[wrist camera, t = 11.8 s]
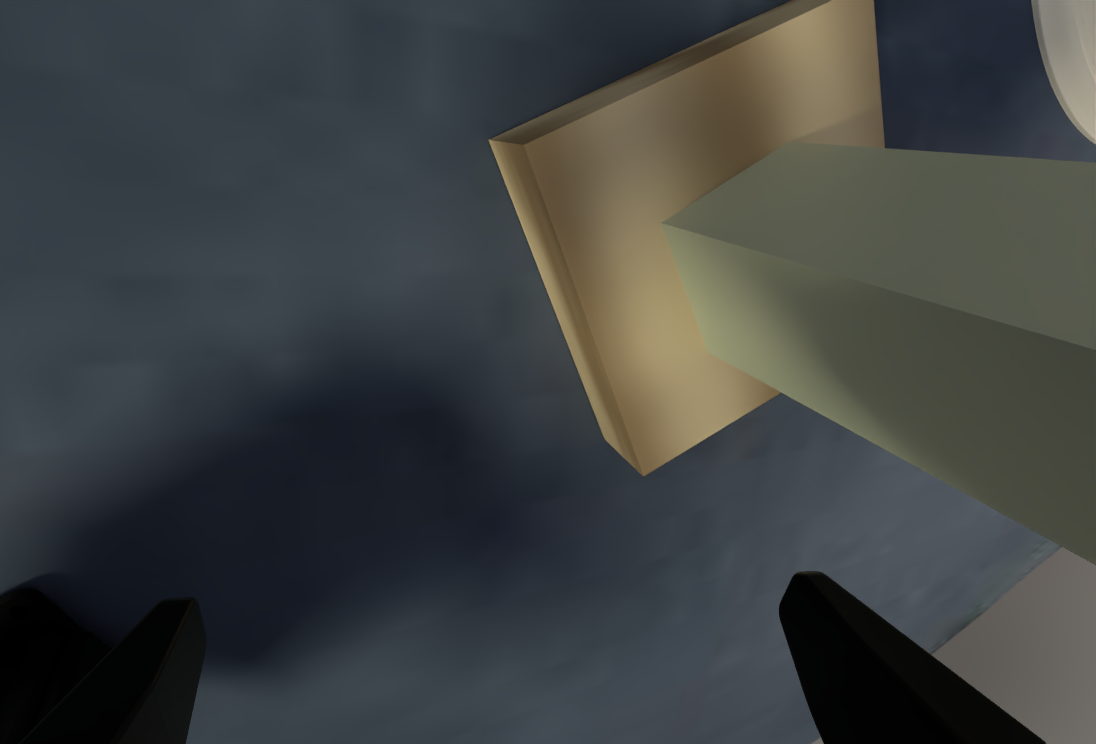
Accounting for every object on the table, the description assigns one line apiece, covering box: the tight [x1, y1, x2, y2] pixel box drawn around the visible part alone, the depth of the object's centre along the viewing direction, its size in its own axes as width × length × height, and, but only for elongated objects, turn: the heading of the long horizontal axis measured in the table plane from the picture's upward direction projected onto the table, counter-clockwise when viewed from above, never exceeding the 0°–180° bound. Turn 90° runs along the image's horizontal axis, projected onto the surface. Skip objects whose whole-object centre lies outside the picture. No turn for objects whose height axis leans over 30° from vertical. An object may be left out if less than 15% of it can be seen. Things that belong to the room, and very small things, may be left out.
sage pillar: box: [661, 142, 1096, 565], centre depth 15 cm, size 5×5×13 cm
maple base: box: [489, 0, 885, 477], centre depth 22 cm, size 12×12×3 cm
